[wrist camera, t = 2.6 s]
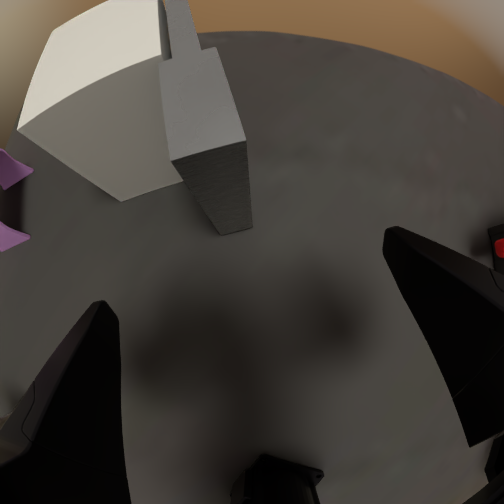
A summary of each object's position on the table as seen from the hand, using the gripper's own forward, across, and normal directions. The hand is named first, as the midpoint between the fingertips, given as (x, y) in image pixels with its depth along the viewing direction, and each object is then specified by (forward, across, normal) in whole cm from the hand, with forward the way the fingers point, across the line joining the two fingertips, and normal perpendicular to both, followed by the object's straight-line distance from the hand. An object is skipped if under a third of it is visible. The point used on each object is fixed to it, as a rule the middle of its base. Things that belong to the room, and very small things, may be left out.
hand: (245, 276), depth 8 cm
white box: (+19, +5, -1) cm, 19 cm away
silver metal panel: (+17, 0, 0) cm, 17 cm away
